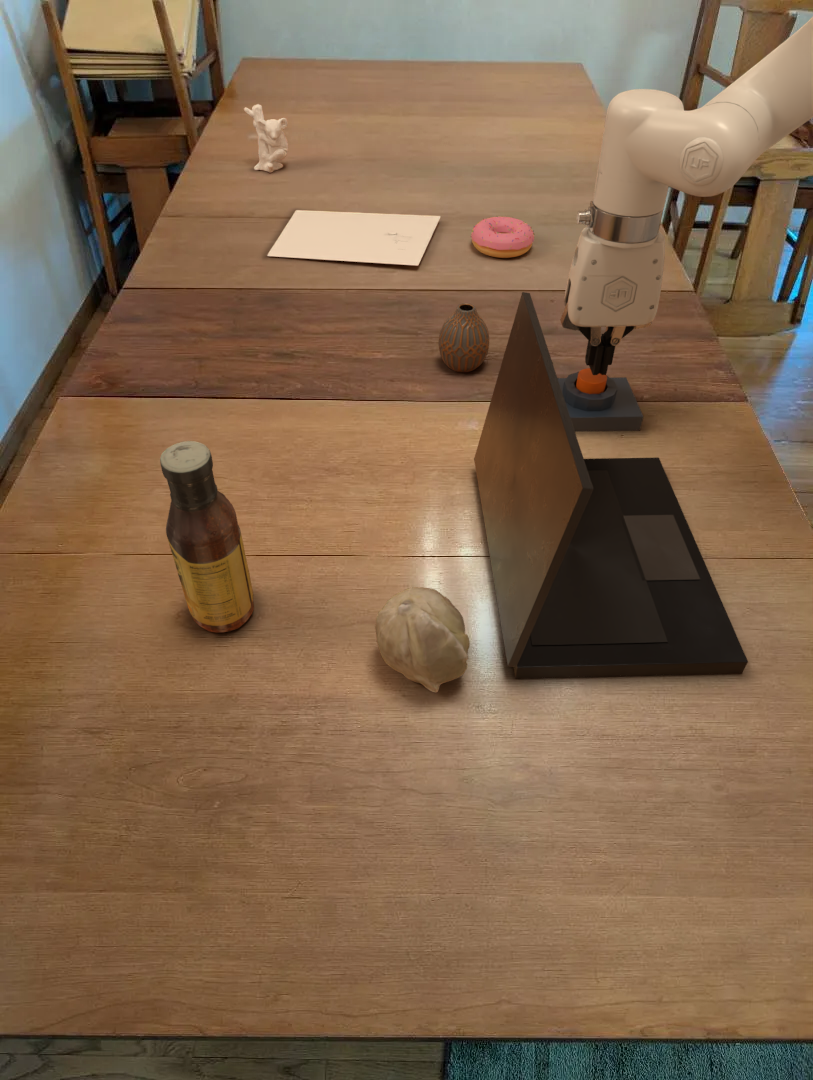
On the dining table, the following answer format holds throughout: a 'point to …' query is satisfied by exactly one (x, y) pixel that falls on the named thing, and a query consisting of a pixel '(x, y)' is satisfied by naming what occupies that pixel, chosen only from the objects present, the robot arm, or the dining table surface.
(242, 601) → the sauce bottle
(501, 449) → the laptop screen
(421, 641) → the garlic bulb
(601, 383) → the button
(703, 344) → the dining table surface
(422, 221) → the paper sheet
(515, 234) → the doughnut
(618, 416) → the switch box
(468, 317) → the vase
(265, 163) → the koala figurine
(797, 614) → the dining table surface
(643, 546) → the laptop
